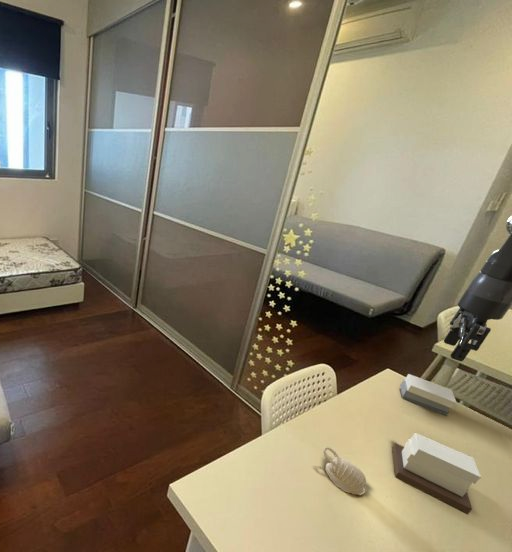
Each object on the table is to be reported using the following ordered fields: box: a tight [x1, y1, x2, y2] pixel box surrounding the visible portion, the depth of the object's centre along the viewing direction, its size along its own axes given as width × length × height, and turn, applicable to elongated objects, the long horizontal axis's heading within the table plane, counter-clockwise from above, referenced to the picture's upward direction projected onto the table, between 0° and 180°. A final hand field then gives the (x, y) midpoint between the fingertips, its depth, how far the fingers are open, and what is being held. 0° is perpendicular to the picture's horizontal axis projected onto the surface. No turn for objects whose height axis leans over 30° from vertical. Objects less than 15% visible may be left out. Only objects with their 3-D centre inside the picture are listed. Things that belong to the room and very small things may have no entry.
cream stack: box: [391, 432, 482, 514], centre depth 65 cm, size 11×9×8 cm
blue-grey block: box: [399, 379, 451, 417], centre depth 86 cm, size 9×6×4 cm, turn 54°
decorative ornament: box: [322, 446, 367, 496], centre depth 63 cm, size 4×8×5 cm, turn 37°
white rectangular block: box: [404, 373, 457, 409], centre depth 84 cm, size 9×6×2 cm, turn 54°
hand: (452, 351), depth 80 cm, fingers open, 8 cm apart
